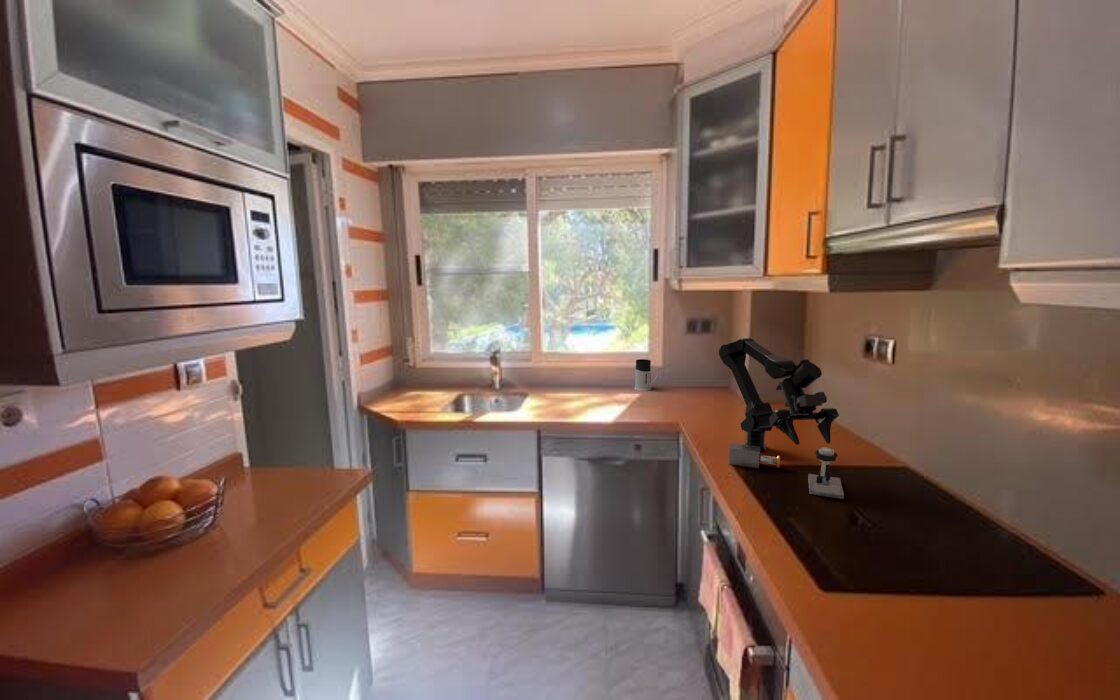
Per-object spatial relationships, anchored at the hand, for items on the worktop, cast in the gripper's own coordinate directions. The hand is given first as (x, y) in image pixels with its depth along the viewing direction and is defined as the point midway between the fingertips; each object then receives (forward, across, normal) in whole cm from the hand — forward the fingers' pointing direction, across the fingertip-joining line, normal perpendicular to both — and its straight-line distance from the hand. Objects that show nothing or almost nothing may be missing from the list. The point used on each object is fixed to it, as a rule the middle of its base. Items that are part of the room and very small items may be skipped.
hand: (813, 443), depth 143 cm
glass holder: (-74, -16, +92) cm, 119 cm away
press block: (-2, -13, +18) cm, 22 cm away
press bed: (+12, 0, +3) cm, 12 cm away
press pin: (-1, -8, +15) cm, 17 cm away
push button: (+11, 0, +2) cm, 11 cm away
